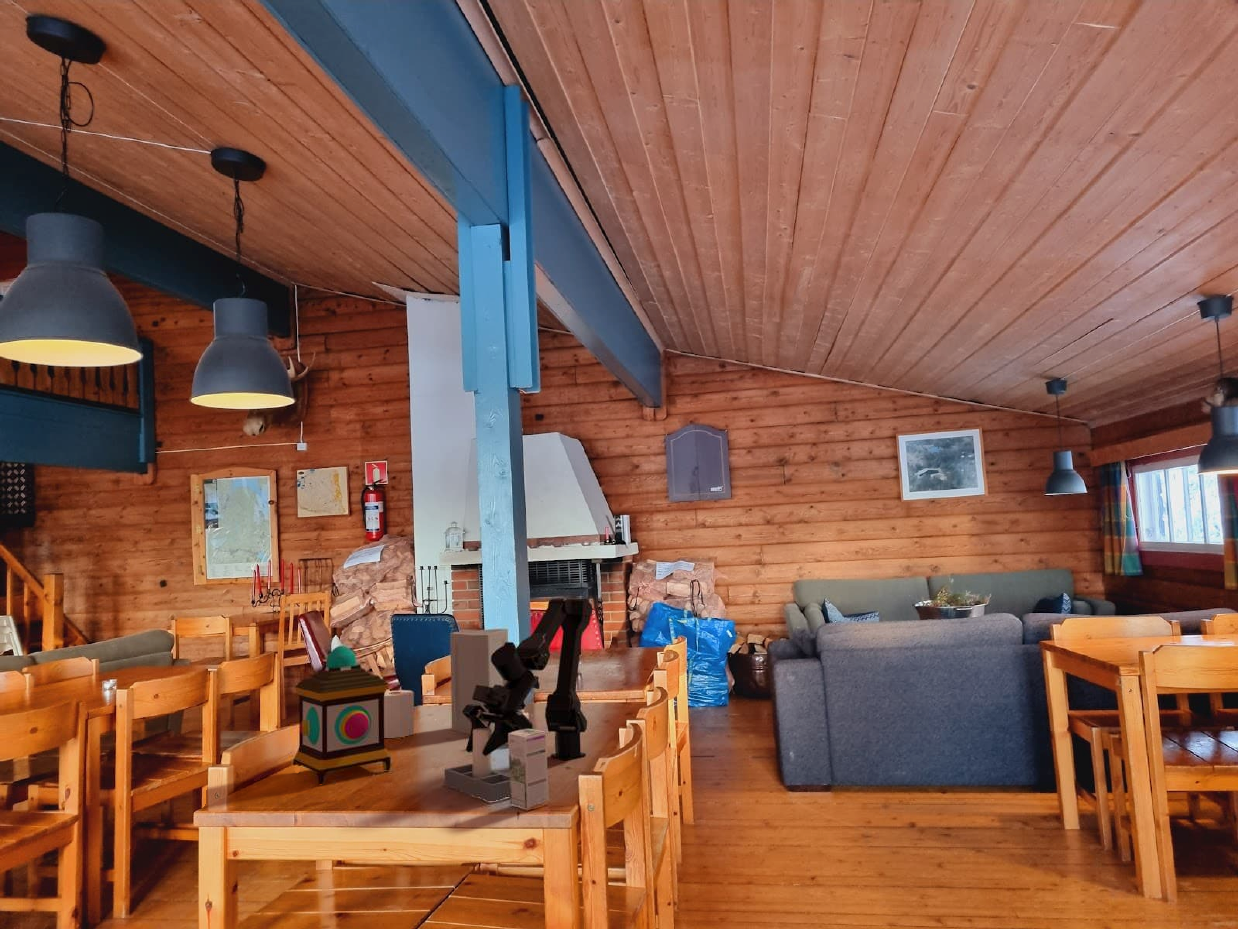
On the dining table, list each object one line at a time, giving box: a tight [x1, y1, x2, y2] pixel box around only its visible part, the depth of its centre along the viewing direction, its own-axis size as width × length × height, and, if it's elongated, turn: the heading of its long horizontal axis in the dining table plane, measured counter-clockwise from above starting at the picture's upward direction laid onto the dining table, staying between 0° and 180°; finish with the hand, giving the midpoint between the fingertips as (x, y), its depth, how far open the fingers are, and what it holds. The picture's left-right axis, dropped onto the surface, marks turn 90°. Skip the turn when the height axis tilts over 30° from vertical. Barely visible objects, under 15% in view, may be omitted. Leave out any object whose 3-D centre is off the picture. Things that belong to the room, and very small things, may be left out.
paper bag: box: [449, 628, 509, 735], centre depth 251 cm, size 19×15×28 cm
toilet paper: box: [384, 689, 415, 738], centre depth 244 cm, size 10×10×12 cm
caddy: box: [444, 763, 510, 801], centre depth 181 cm, size 20×7×4 cm, turn 40°
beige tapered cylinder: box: [472, 728, 492, 779], centre depth 182 cm, size 4×4×12 cm
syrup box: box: [508, 728, 550, 808], centre depth 169 cm, size 6×6×14 cm
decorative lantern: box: [292, 645, 392, 785], centre depth 204 cm, size 20×20×30 cm
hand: (475, 753), depth 181 cm, fingers open, 5 cm apart
